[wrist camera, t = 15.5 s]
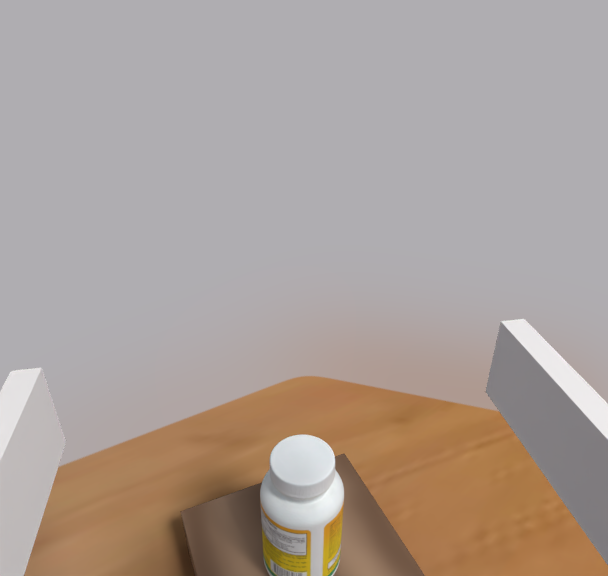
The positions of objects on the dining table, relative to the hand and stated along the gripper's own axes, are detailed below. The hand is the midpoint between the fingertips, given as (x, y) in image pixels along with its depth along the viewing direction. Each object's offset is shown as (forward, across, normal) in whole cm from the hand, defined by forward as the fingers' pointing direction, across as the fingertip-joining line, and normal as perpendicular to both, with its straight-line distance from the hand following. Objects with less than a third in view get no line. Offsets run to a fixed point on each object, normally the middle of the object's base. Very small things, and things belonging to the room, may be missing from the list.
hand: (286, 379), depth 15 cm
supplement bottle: (+10, +2, -24) cm, 26 cm away
